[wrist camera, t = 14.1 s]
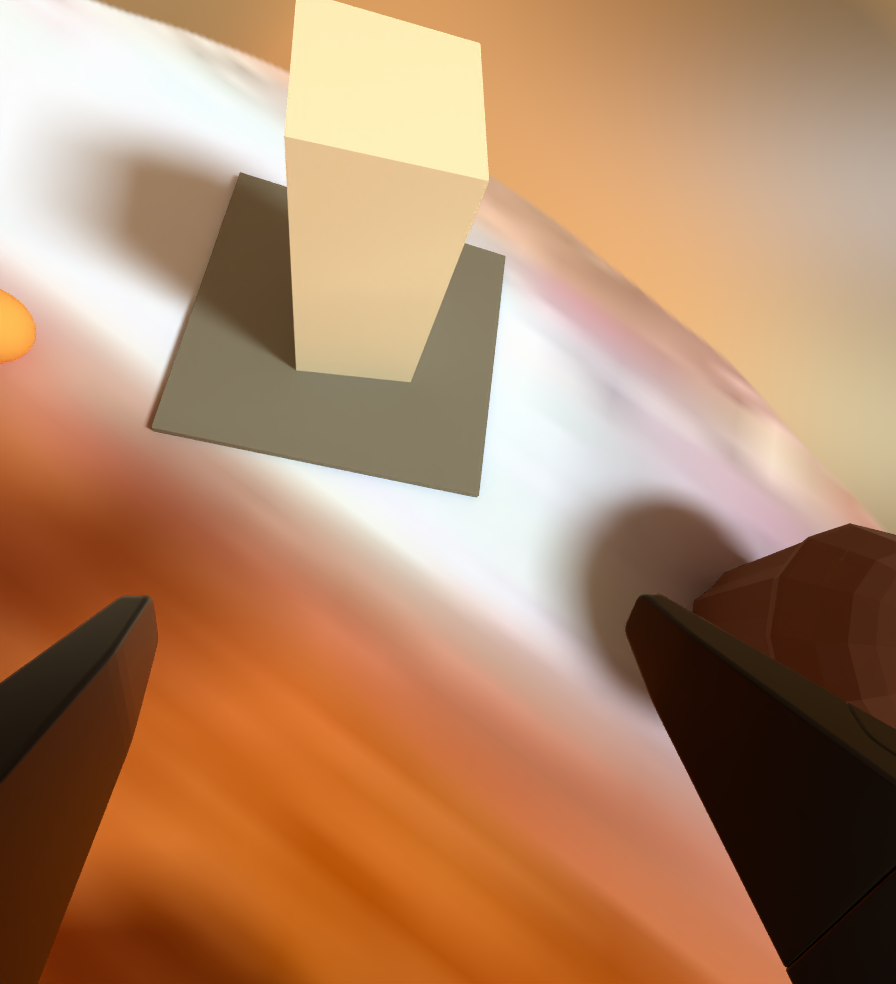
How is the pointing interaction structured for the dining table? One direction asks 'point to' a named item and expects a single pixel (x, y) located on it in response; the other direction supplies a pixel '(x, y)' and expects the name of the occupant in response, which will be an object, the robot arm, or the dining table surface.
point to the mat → (320, 396)
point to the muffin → (820, 613)
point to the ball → (14, 328)
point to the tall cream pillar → (377, 183)
